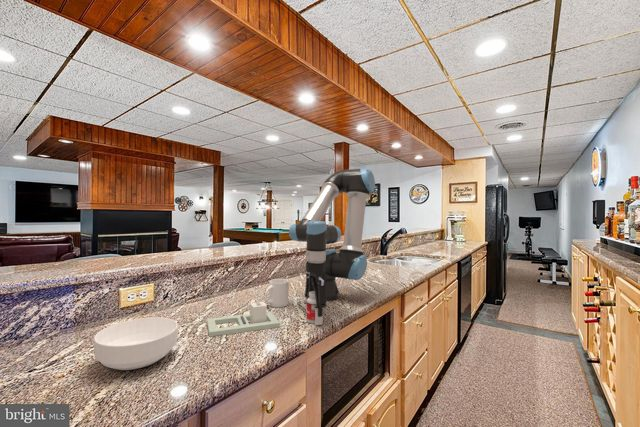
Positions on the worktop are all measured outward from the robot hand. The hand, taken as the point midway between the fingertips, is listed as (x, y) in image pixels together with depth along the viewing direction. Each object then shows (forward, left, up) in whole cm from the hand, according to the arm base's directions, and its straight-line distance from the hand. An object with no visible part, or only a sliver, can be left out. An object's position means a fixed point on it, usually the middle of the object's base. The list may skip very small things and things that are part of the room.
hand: (314, 320), depth 114 cm
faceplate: (+26, -6, 0) cm, 27 cm away
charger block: (+20, -6, 0) cm, 21 cm away
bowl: (+57, +10, -1) cm, 58 cm away
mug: (+9, -23, -1) cm, 25 cm away
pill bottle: (0, 0, -1) cm, 1 cm away
